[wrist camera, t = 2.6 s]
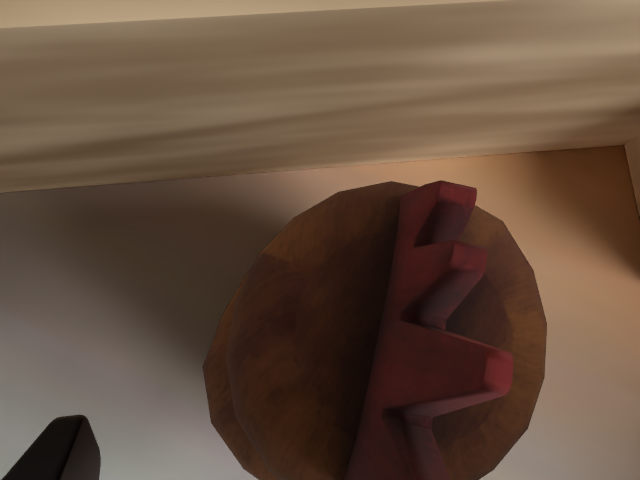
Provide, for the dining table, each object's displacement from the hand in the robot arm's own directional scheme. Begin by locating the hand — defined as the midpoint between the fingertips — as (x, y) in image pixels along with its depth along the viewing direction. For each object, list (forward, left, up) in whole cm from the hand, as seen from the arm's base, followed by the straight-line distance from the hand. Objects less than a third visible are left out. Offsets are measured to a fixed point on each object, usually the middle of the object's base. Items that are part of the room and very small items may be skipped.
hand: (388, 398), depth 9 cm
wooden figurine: (+1, +1, -9) cm, 10 cm away
